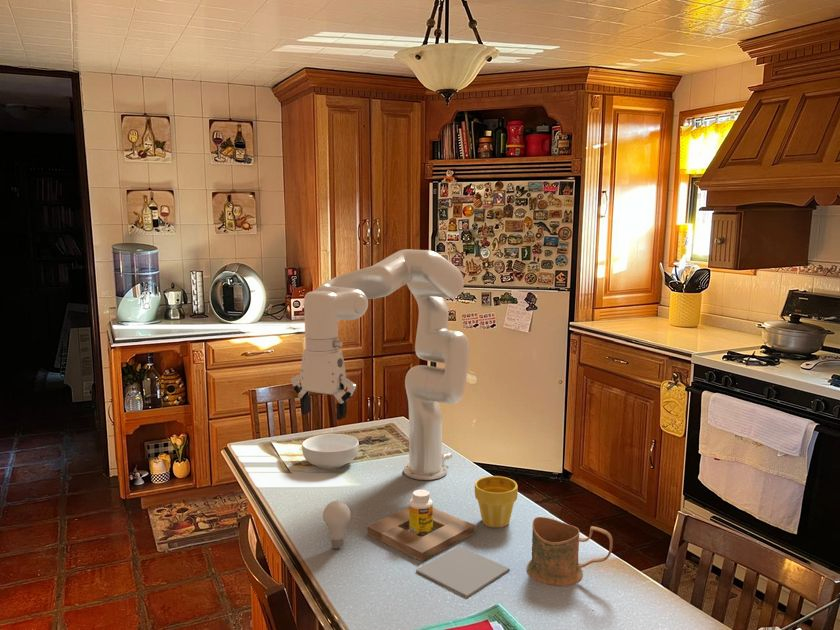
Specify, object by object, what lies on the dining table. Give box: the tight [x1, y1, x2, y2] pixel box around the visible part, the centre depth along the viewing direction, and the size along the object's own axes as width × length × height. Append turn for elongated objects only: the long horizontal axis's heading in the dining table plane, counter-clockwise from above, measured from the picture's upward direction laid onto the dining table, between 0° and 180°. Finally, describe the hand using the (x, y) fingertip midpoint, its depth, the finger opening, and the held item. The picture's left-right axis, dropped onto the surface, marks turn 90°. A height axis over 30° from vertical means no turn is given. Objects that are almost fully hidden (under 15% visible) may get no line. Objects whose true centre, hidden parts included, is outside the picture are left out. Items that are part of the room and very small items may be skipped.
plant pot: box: [474, 475, 519, 528], centre depth 165 cm, size 10×10×10 cm
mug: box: [526, 516, 614, 587], centre depth 140 cm, size 12×18×12 cm, turn 58°
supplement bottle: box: [408, 489, 434, 537], centre depth 159 cm, size 6×6×10 cm
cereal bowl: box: [301, 433, 360, 470], centre depth 202 cm, size 17×17×7 cm
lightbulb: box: [322, 500, 351, 550], centre depth 152 cm, size 6×6×11 cm
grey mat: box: [415, 545, 510, 598], centre depth 143 cm, size 14×14×1 cm
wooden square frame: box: [366, 507, 476, 562], centre depth 159 cm, size 18×18×2 cm
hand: (323, 415), depth 159 cm, fingers open, 9 cm apart
